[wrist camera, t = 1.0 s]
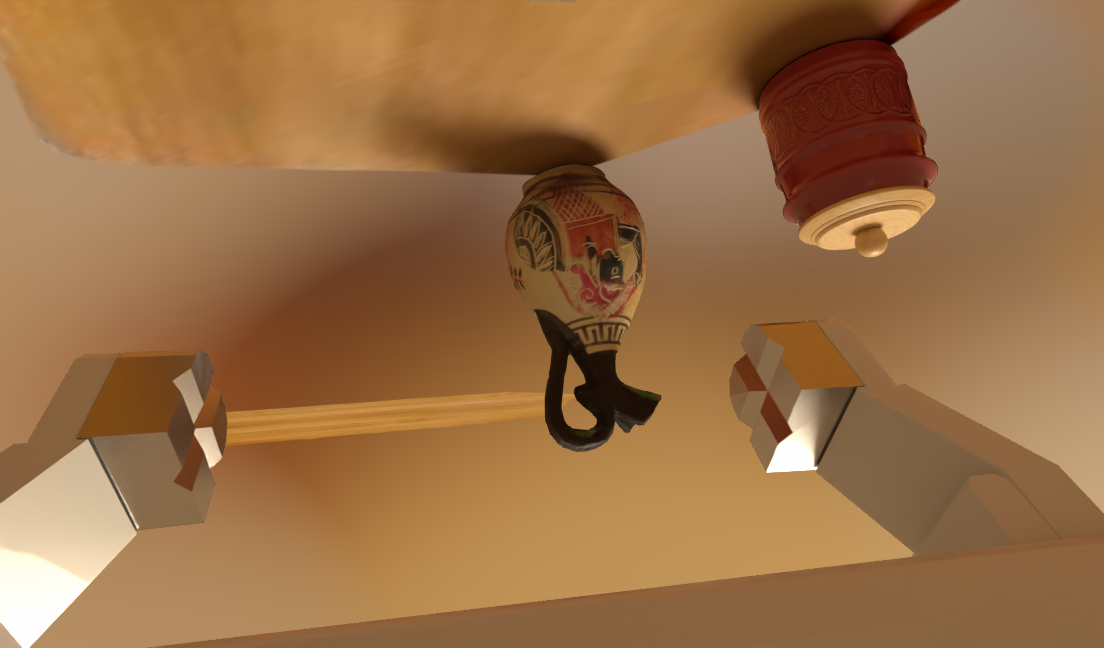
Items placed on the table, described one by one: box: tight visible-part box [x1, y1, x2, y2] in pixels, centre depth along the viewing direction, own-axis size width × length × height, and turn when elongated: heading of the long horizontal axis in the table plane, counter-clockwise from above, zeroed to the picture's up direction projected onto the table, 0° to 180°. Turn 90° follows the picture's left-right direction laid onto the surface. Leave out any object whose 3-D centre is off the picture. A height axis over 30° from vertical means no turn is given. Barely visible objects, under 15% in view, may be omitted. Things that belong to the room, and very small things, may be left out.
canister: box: [759, 40, 938, 257], centre depth 61 cm, size 13×13×18 cm
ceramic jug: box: [505, 164, 661, 452], centre depth 71 cm, size 17×15×30 cm
